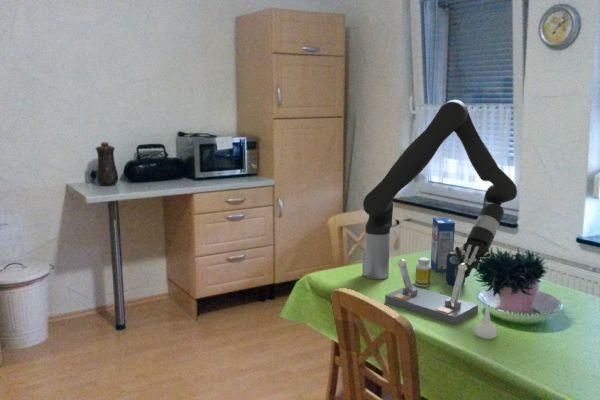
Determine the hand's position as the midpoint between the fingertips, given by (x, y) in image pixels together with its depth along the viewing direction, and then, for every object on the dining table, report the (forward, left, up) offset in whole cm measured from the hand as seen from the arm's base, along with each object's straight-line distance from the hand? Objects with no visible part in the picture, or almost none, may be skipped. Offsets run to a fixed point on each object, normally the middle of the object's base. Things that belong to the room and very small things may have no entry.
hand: (463, 276), depth 176 cm
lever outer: (0, -6, -8) cm, 10 cm away
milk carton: (-27, +32, -11) cm, 44 cm away
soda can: (-14, +20, -11) cm, 27 cm away
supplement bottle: (-22, +11, -11) cm, 27 cm away
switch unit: (-8, -6, -11) cm, 15 cm away
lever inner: (-16, -6, -8) cm, 19 cm away
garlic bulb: (+15, -13, -11) cm, 23 cm away
